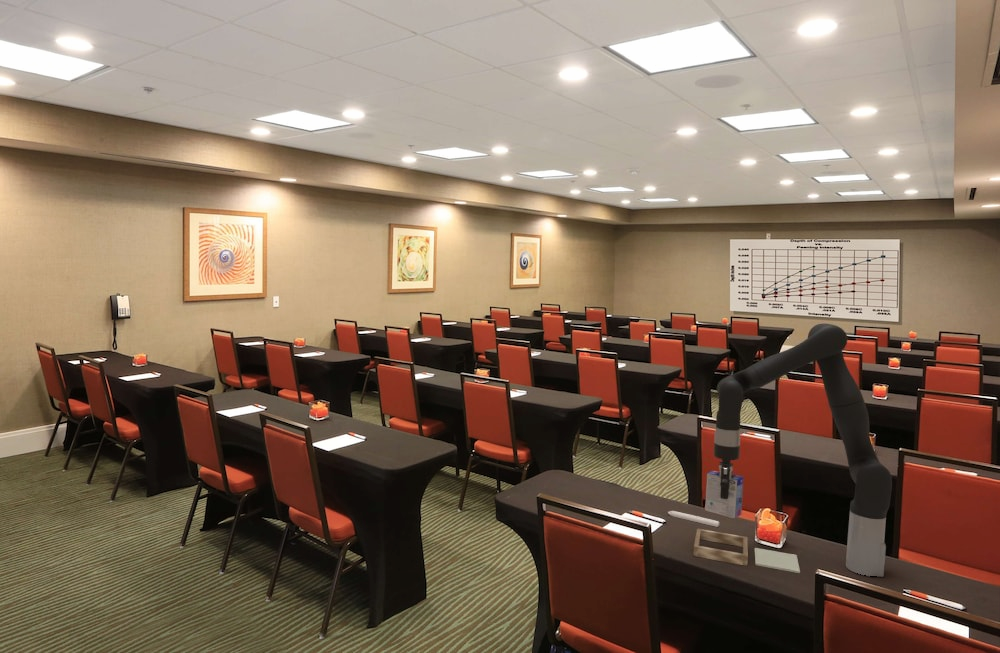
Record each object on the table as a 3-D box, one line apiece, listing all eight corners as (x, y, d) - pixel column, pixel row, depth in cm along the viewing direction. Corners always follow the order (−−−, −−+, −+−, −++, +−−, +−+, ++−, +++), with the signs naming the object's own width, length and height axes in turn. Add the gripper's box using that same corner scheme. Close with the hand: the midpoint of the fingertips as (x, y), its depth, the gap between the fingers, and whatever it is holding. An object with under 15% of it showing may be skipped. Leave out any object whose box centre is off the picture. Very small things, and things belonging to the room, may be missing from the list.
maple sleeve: (746, 546, 196) (747, 537, 195) (747, 565, 181) (747, 556, 181) (696, 537, 201) (697, 528, 201) (693, 555, 187) (693, 546, 187)
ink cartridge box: (742, 514, 189) (744, 469, 188) (735, 519, 185) (738, 472, 184) (711, 506, 196) (713, 462, 195) (704, 511, 192) (706, 465, 191)
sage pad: (796, 556, 189) (796, 555, 189) (799, 573, 178) (800, 571, 178) (754, 549, 193) (754, 547, 193) (755, 565, 182) (755, 563, 182)
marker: (666, 516, 220) (666, 509, 220) (668, 514, 222) (668, 508, 222) (717, 528, 210) (718, 521, 210) (719, 526, 212) (719, 519, 212)
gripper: (740, 449, 181) (737, 504, 182) (740, 438, 194) (737, 489, 195) (713, 446, 184) (710, 500, 185) (715, 436, 197) (712, 486, 198)
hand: (724, 494), depth 190 cm, fingers closed on ink cartridge box, 6 cm apart
